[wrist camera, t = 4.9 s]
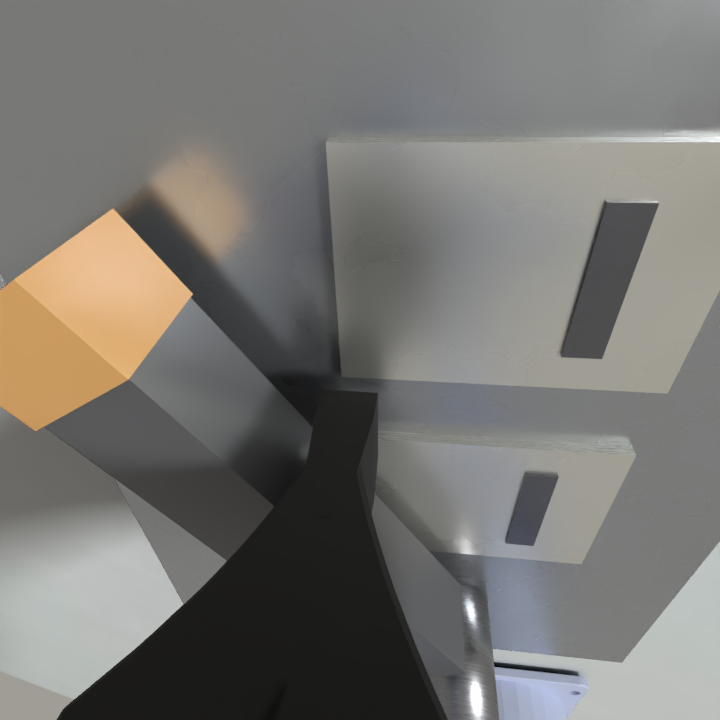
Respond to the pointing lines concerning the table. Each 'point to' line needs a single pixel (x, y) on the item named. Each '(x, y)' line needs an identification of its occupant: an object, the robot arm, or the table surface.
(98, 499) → the table surface
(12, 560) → the table surface
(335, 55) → the grey lever board
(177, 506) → the swing bar
